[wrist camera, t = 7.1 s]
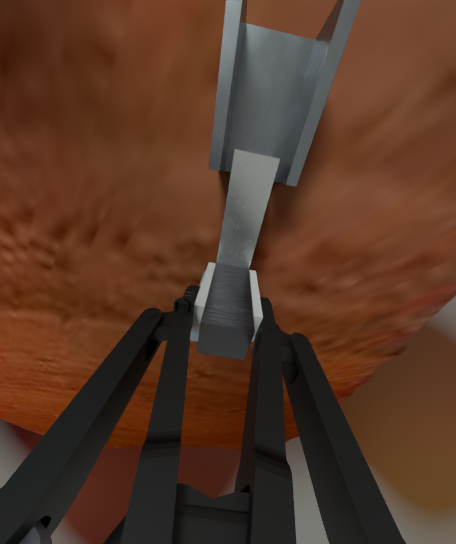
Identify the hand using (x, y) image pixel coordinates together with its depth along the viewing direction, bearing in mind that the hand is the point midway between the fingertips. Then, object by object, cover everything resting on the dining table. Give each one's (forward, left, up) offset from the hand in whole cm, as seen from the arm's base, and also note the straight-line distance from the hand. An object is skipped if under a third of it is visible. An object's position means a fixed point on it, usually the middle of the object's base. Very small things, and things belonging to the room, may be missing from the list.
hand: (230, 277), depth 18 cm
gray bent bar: (-3, 0, -3) cm, 4 cm away
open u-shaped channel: (-14, 0, -5) cm, 15 cm away
